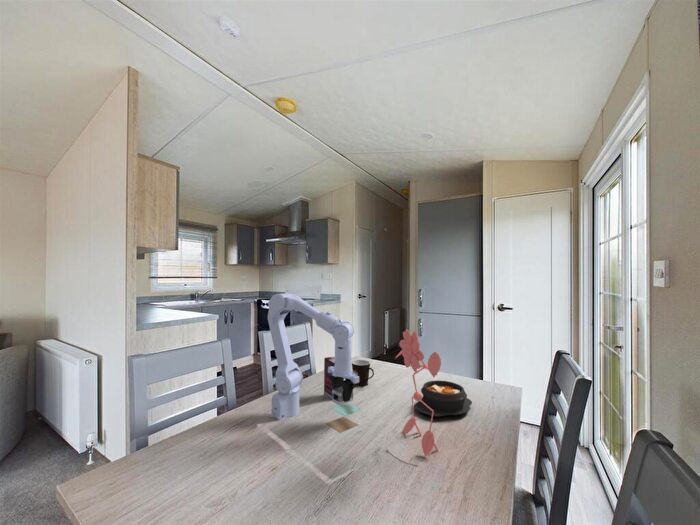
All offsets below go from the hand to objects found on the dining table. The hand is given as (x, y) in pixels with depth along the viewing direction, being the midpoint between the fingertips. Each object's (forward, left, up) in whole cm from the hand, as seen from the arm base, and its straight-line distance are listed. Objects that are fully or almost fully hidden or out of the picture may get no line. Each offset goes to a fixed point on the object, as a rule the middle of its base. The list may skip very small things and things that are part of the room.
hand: (342, 398), depth 110 cm
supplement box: (+12, +20, -9) cm, 25 cm away
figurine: (+7, -23, -9) cm, 26 cm away
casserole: (+38, -15, -9) cm, 42 cm away
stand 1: (+8, +7, -9) cm, 14 cm away
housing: (0, 0, -1) cm, 1 cm away
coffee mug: (+31, +23, -9) cm, 40 cm away
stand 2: (-1, -1, -9) cm, 9 cm away
